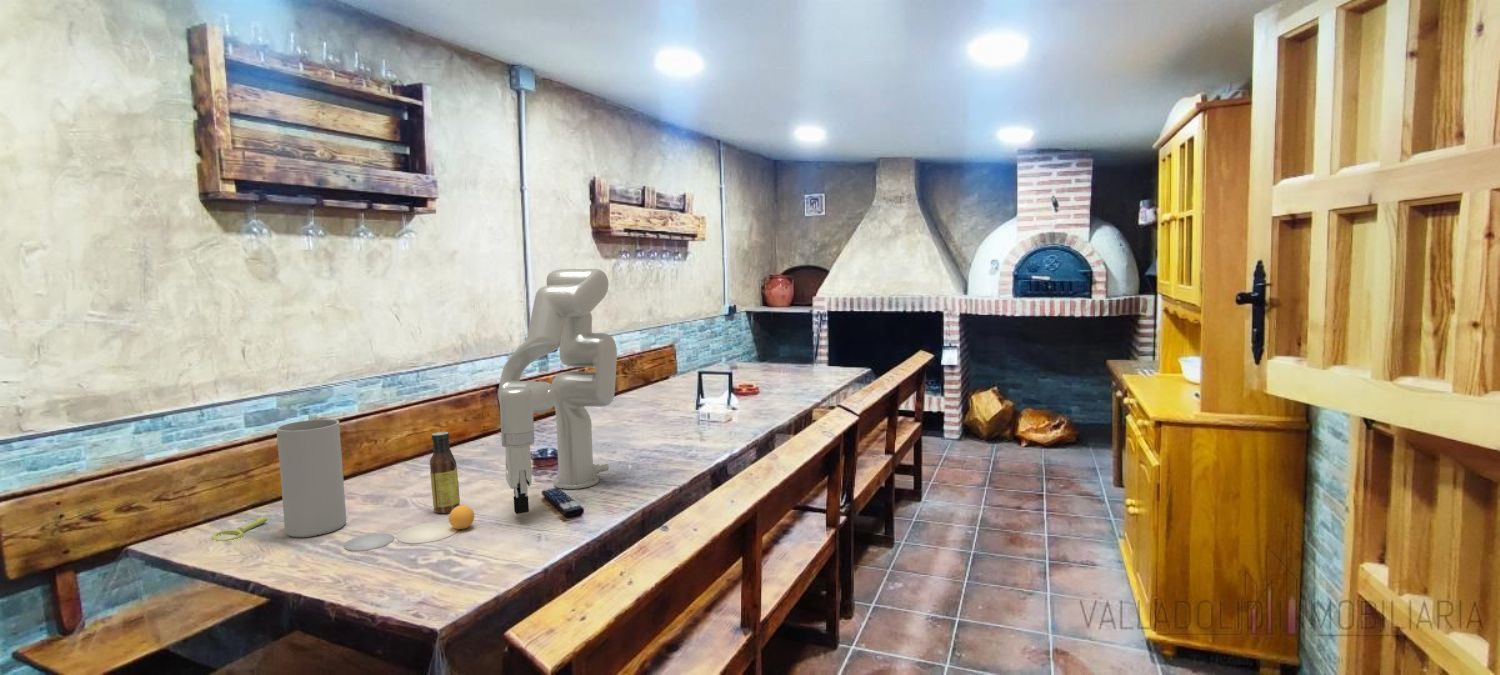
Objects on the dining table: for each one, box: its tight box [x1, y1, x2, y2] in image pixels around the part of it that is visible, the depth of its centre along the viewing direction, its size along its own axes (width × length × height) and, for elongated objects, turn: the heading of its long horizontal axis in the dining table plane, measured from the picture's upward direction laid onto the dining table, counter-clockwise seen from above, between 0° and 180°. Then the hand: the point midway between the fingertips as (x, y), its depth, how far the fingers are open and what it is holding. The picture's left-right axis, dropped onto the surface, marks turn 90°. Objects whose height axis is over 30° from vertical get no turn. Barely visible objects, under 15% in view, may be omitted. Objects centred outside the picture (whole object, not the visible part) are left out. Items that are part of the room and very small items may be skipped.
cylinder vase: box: [276, 418, 347, 538], centre depth 171 cm, size 12×12×25 cm
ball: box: [448, 504, 475, 530], centre depth 170 cm, size 6×6×6 cm
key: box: [211, 516, 268, 542], centre depth 171 cm, size 7×12×2 cm, turn 1°
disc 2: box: [396, 521, 459, 545], centre depth 168 cm, size 13×13×1 cm
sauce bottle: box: [429, 431, 461, 514], centre depth 183 cm, size 6×6×20 cm
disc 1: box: [343, 532, 395, 552], centre depth 163 cm, size 10×10×1 cm
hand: (521, 511), depth 177 cm, fingers closed
